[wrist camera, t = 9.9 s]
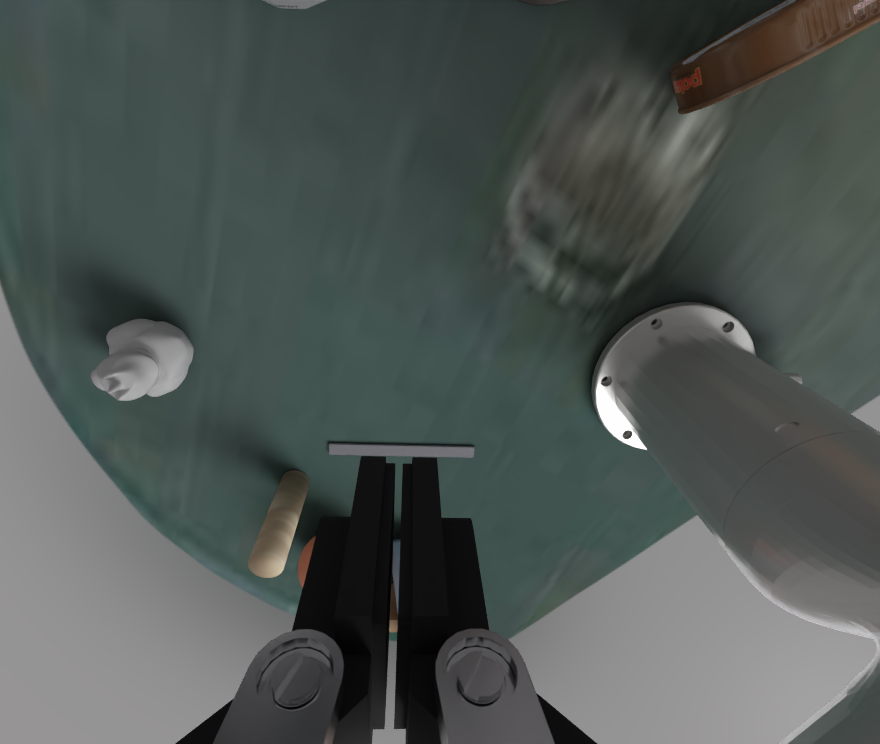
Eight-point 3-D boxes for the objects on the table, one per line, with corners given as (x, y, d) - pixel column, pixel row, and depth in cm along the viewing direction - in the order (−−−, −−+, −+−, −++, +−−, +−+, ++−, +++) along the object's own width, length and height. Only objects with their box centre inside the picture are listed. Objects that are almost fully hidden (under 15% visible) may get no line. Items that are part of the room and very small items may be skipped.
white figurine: (219, 362, 36) (171, 416, 29) (144, 392, 37) (78, 453, 29) (176, 297, 34) (112, 338, 26) (97, 331, 34) (13, 380, 27)
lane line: (474, 446, 40) (474, 447, 40) (473, 456, 41) (473, 457, 40) (329, 443, 39) (328, 444, 39) (329, 453, 40) (329, 454, 40)
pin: (417, 539, 42) (432, 648, 41) (412, 535, 44) (426, 638, 43) (390, 545, 41) (404, 656, 40) (386, 540, 44) (400, 645, 42)
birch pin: (308, 470, 40) (282, 552, 32) (310, 493, 41) (285, 577, 33) (279, 469, 40) (246, 551, 32) (282, 492, 41) (249, 577, 33)
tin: (654, 122, 31) (734, 114, 23) (639, 71, 29) (719, 44, 22) (898, -11, 28) (1078, -70, 21) (894, -73, 27) (1083, -160, 19)
